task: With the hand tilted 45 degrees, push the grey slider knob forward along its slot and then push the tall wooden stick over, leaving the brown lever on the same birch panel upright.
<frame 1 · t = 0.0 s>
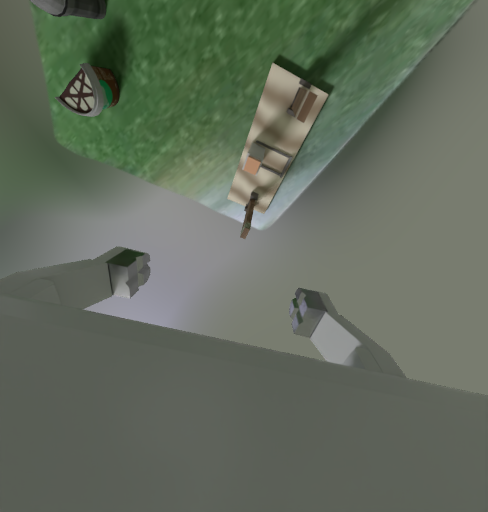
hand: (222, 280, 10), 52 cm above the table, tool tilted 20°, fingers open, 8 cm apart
brown lever: (301, 102, 34), point 11 cm above the table, hinge at 0.0°
wooden stick: (248, 215, 54), point 11 cm above the table, hinge at 0.0°
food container: (110, 95, 47), on the table
panel: (267, 155, 52), on the table
slider: (254, 159, 46), point 7 cm above the table, slide at 0.0 cm
beverage cup: (95, 1, 36), on the table
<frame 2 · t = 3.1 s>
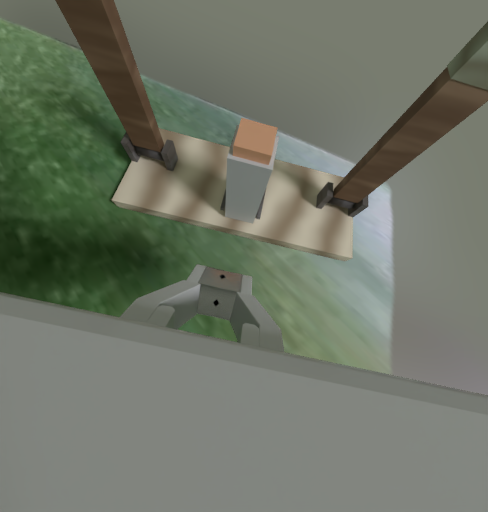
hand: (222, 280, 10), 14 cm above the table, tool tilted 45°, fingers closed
brown lever: (120, 79, 17), point 11 cm above the table, hinge at 0.0°
wooden stick: (390, 154, 18), point 11 cm above the table, hinge at 0.0°
panel: (245, 195, 28), on the table
slider: (247, 181, 20), point 7 cm above the table, slide at 0.0 cm
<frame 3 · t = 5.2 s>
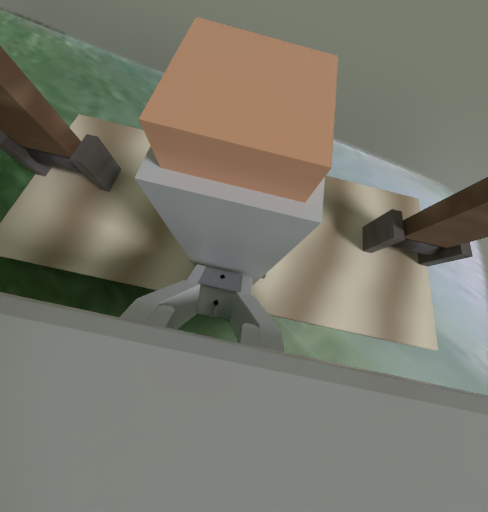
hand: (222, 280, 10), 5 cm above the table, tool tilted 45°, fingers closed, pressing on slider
panel: (238, 228, 17), on the table
slider: (236, 221, 9), point 7 cm above the table, slide at 0.2 cm, touching gripper
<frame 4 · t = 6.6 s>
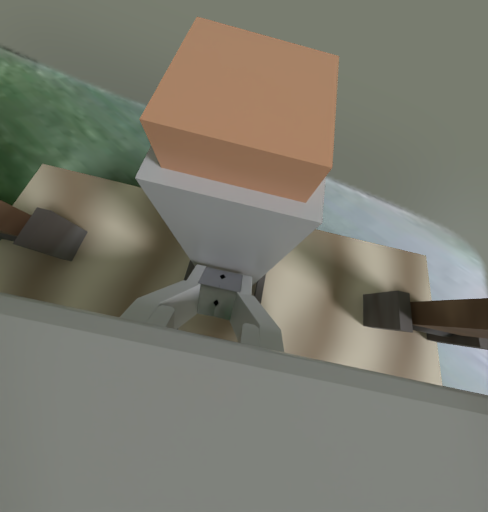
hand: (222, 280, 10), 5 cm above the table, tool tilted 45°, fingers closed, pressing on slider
panel: (222, 293, 15), on the table
slider: (236, 221, 9), point 7 cm above the table, slide at 6.4 cm, touching gripper
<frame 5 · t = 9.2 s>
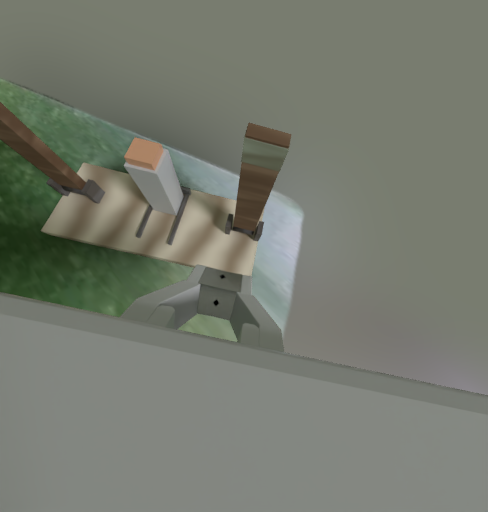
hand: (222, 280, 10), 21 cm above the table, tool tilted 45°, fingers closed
brown lever: (26, 144, 21), point 11 cm above the table, hinge at 0.0°
wooden stick: (251, 200, 23), point 11 cm above the table, hinge at 0.0°
panel: (166, 222, 32), on the table
slider: (158, 182, 26), point 7 cm above the table, slide at 6.4 cm
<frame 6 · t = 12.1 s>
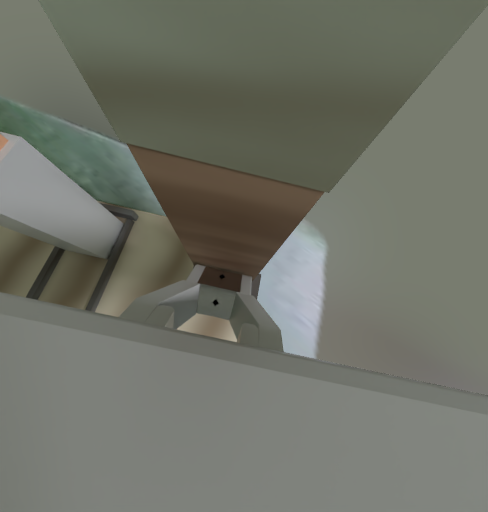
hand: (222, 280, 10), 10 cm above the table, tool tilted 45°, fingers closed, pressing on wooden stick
wooden stick: (227, 253, 9), point 11 cm above the table, hinge at 2.5°, touching gripper
panel: (95, 268, 19), on the table
slider: (44, 207, 13), point 7 cm above the table, slide at 6.4 cm
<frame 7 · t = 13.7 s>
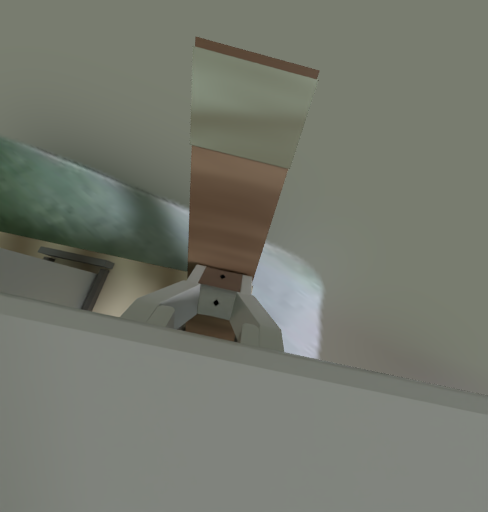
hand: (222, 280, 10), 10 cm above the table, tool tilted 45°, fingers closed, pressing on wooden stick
wooden stick: (221, 274, 11), point 9 cm above the table, hinge at 38.7°, touching gripper
panel: (66, 322, 17), on the table
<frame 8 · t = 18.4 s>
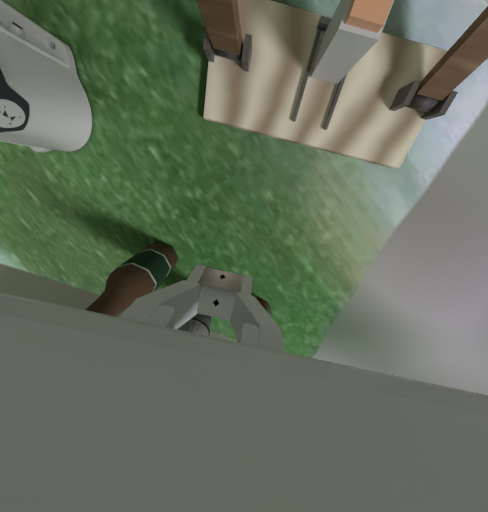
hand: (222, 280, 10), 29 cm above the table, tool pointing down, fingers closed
beer bottle: (163, 255, 43), on the table
panel: (317, 93, 28), on the table
slider: (347, 36, 20), point 7 cm above the table, slide at 6.4 cm
beverage cup: (207, 294, 48), on the table
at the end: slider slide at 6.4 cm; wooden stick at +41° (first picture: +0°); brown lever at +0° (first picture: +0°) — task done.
